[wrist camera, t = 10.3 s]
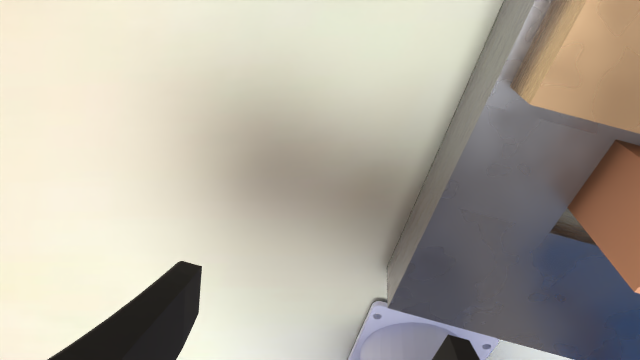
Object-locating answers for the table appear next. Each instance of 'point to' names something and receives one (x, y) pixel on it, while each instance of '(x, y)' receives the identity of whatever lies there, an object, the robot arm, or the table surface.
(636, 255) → the light brown rectangular block
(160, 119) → the table surface
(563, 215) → the bracket plate
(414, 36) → the table surface
